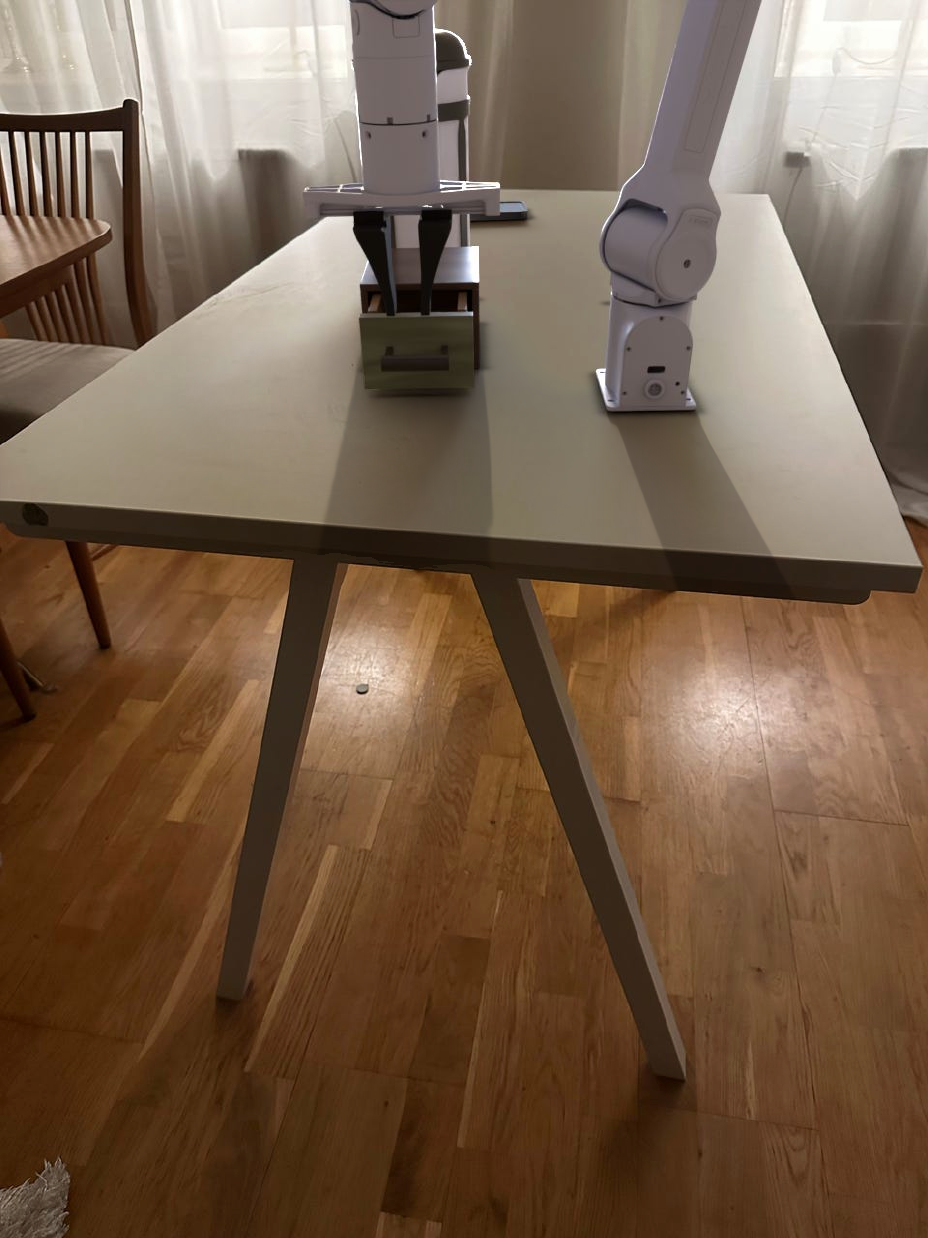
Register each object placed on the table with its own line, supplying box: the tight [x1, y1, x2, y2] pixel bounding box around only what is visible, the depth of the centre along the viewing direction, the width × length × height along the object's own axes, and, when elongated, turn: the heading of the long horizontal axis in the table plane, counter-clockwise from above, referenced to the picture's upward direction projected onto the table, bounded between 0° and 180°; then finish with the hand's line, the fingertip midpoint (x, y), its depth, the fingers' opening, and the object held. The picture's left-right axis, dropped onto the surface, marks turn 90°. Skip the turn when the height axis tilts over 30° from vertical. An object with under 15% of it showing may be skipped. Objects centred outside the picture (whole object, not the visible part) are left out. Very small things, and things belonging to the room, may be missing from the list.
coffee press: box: [350, 28, 472, 248], centre depth 104 cm, size 17×16×30 cm
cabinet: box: [359, 246, 481, 369], centre depth 94 cm, size 13×11×8 cm
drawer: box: [358, 290, 475, 390], centre depth 86 cm, size 17×10×7 cm, turn 0°
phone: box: [469, 200, 529, 222], centre depth 145 cm, size 8×1×15 cm
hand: (408, 312), depth 72 cm, fingers closed
